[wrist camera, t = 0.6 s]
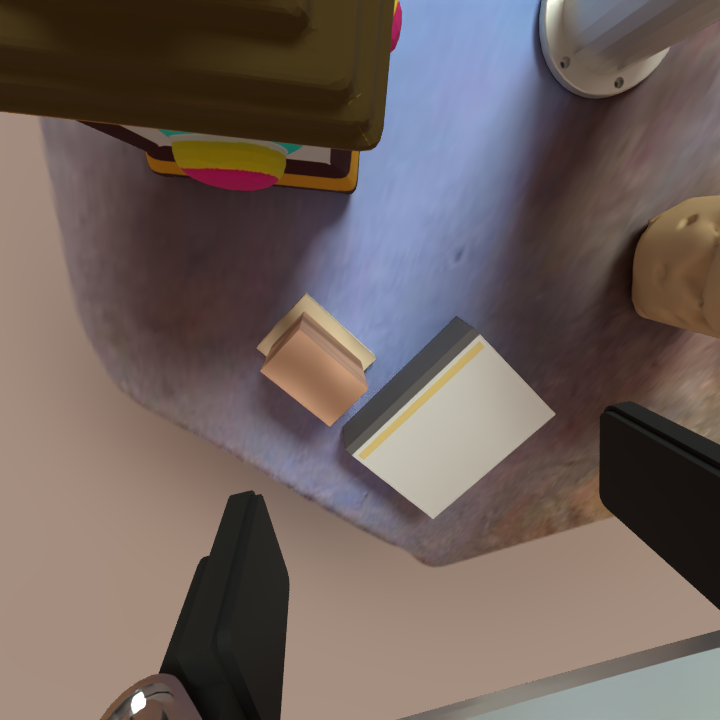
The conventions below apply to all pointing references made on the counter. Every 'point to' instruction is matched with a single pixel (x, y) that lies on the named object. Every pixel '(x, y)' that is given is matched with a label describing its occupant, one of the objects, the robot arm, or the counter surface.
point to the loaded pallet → (316, 360)
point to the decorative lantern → (211, 82)
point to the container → (681, 267)
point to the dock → (445, 419)
